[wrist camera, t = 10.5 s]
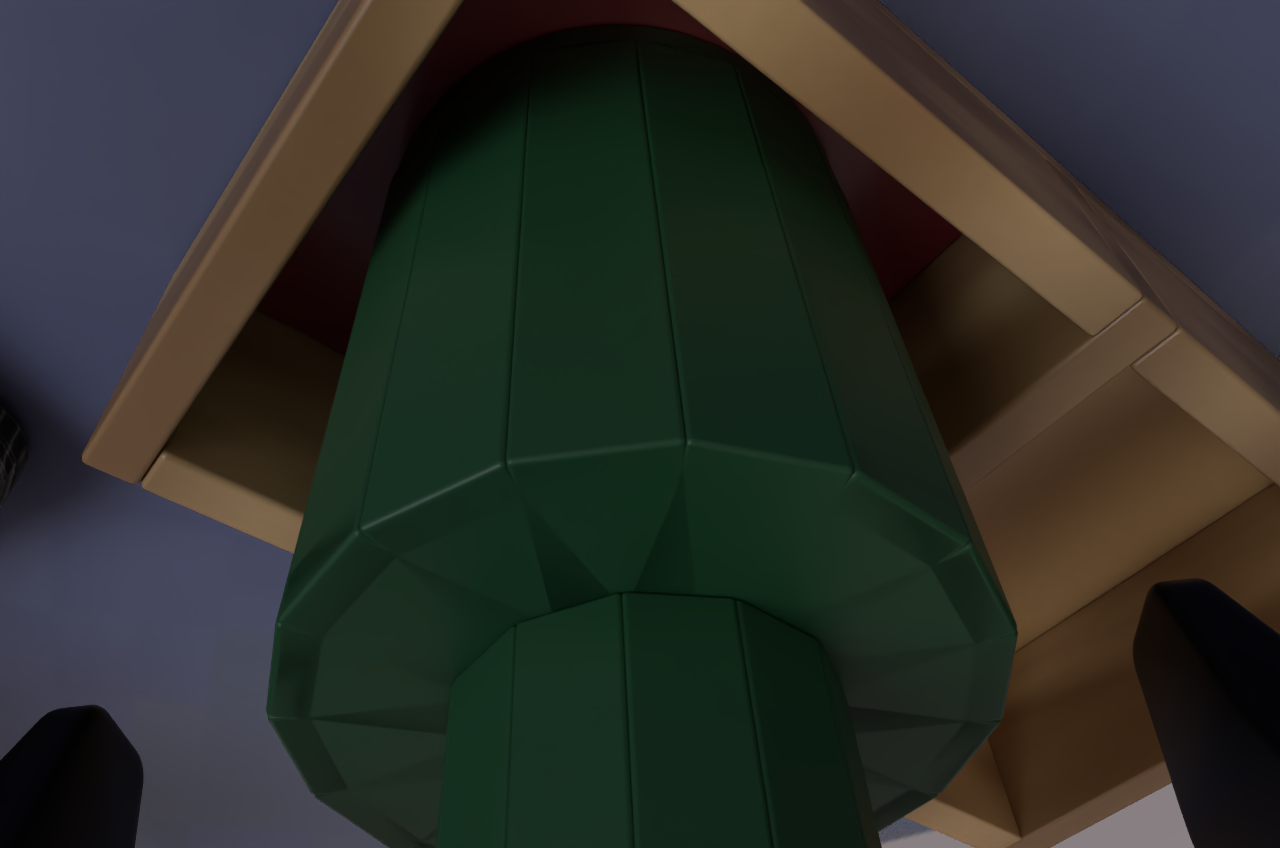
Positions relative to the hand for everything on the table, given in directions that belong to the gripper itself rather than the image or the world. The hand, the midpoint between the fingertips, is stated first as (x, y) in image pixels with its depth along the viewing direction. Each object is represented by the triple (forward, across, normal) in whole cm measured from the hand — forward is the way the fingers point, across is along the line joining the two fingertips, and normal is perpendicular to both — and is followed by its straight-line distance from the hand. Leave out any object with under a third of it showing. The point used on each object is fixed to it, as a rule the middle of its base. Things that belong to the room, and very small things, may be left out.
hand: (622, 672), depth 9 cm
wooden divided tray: (+8, -3, +3) cm, 9 cm away
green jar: (+7, 0, 0) cm, 7 cm away
